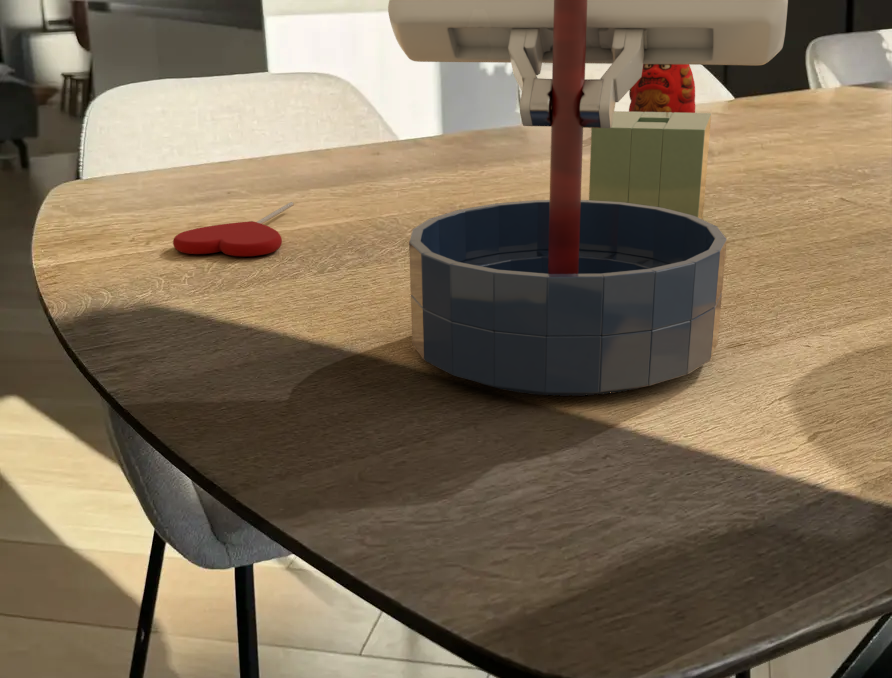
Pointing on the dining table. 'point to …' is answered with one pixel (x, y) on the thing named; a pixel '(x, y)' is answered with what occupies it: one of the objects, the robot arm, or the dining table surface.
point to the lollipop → (232, 238)
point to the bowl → (566, 297)
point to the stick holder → (652, 160)
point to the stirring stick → (566, 135)
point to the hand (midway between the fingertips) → (565, 120)
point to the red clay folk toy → (664, 89)
